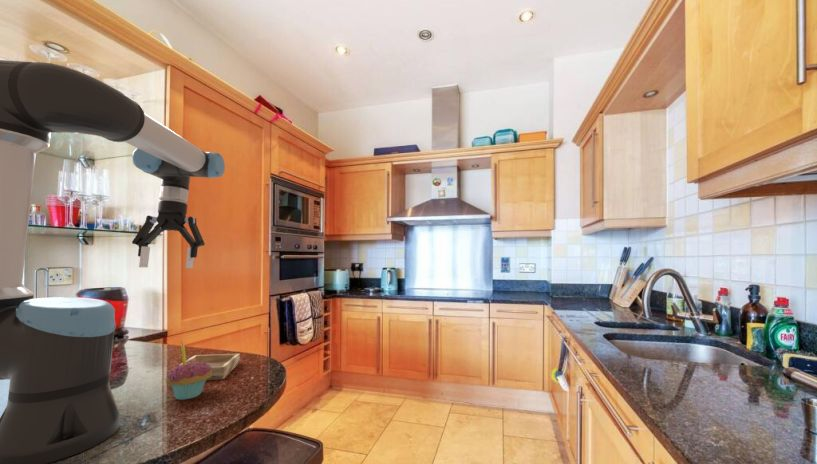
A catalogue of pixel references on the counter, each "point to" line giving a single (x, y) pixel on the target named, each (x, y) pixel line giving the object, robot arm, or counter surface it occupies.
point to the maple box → (218, 363)
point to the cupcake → (188, 377)
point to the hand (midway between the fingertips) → (166, 267)
